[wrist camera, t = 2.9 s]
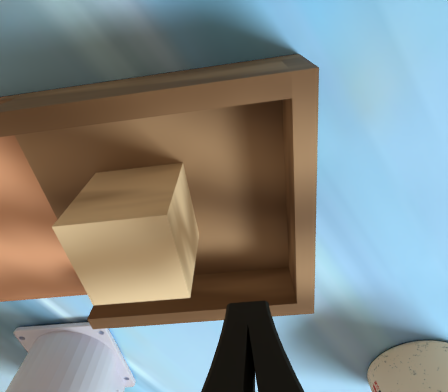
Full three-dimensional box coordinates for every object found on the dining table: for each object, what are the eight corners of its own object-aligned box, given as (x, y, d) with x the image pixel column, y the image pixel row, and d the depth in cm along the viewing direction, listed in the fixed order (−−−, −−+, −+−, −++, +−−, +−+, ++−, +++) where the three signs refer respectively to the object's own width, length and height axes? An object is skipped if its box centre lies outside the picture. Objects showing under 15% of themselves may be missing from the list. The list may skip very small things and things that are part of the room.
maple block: (199, 234, 20) (190, 297, 15) (122, 241, 20) (93, 305, 16) (183, 162, 17) (166, 215, 13) (95, 173, 17) (51, 226, 13)
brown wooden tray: (301, 266, 22) (314, 313, 19) (2, 291, 24) (-36, 338, 21) (298, 53, 15) (318, 67, 11) (-127, 115, 17) (-218, 142, 14)
